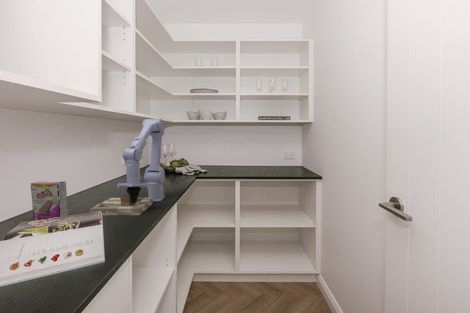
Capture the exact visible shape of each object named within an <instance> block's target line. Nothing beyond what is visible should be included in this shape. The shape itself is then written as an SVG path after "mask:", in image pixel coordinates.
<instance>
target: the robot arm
mask: <svg viewBox="0 0 470 313" xmlns="http://www.w3.org/2000/svg"><path fill="white" fill-rule="evenodd" d="M141 125H142V129H141V132H140V133H139V135H138V136H135V137H134V138H133V140H132V142H131V144H130V145H129V147H128V148H125V149H124V150H123V152H122V158H123V160H124V164H125V166H126V167H125V171H126V172H125V173H126V182H119V183H117V184H116V189H123V188H124V189H126V192H127V194H128V195H130V197H131V200H132V203H133V204H135V203H137V198H139V194H140V192H141V190H142V188H147V191H148V192H147V193H148V194H147V195H148V197H147V198H153V202H161V201H162V200H164V198H165V197H166V195H164V185H163V183H165V180H166V173H165V169H164V168H163V166H161V154H162V140H163V136H164V135H165V125H166V124H165V122H164V119H162V118H153V119H151V118H150V119H149V118H148V119H147V118H145V119H144V120H143V121H142V124H141ZM149 136H150V137H151V148H150V164H149V166H148V167H147V168H145V171H144V176H143V180H144V182H141V165H140V162H141V161H140V160H142V158H143V150H144V148H145V146H146V145H147V141H146V140H147V139H148V138H149Z"/></svg>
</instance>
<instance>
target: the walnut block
mask: <svg viewBox="0 0 470 313" xmlns="http://www.w3.org/2000/svg"><path fill="white" fill-rule="evenodd" d="M120 198H121V206H131V205H132V204H133V203H132V200H131V197H130V195H129V194H128V195H123V196H121V197H120Z"/></svg>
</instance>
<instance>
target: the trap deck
mask: <svg viewBox="0 0 470 313" xmlns="http://www.w3.org/2000/svg"><path fill="white" fill-rule="evenodd" d="M153 204H154V201H153V198H148V197H138V198H137V203H135V204H132V205H131V206H121V197H109V198H108V199H106V200H104V201H102V202H100V203H98V204H96V205H95V206H93V207H90V208H89V213H90V212H96V211H101V212H102V215H101V216H141V215H142V214H143V213H145V211H146V210H148V209H149V208H150V207H151V206H152V205H153Z"/></svg>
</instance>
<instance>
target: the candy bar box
mask: <svg viewBox="0 0 470 313" xmlns="http://www.w3.org/2000/svg"><path fill="white" fill-rule="evenodd" d="M30 190H31V191H30V192H31V194H30V195H31V204H32V214H33V215H32V216H33V221H34V220H41V219H48V218H53V217H60V216H67V215H68V216H69V211H68V210H69V209H68V196H67V194H68V193H67V181H66V180H38V181H34V182H30Z"/></svg>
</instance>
